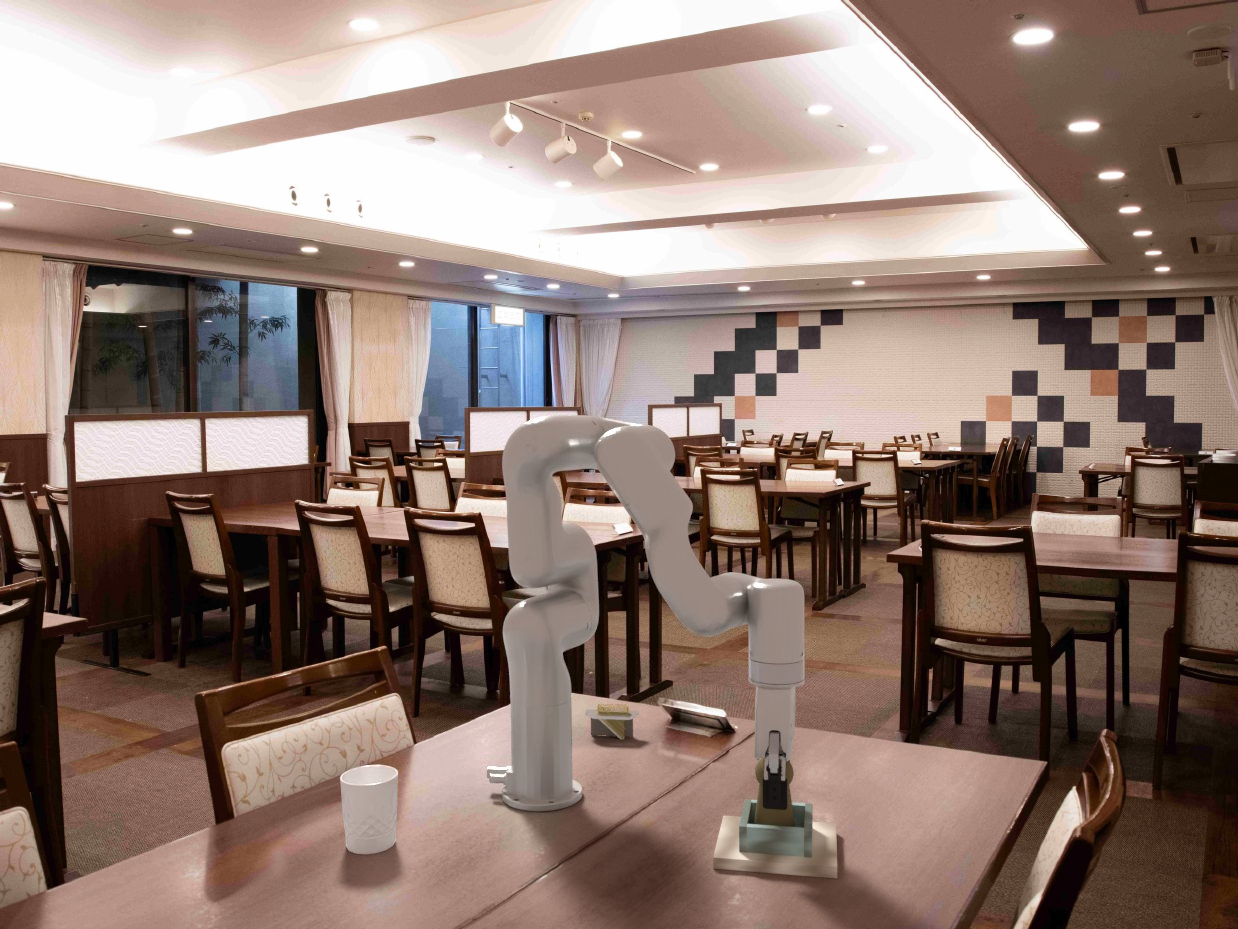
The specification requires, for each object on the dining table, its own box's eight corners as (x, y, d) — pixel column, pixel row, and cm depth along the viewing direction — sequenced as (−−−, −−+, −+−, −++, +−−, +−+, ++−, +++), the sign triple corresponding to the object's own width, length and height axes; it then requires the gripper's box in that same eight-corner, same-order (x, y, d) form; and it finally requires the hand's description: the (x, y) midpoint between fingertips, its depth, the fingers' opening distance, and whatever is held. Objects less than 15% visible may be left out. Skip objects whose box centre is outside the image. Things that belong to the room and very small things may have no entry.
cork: (796, 849, 134) (796, 768, 134) (750, 846, 136) (750, 765, 135) (797, 831, 140) (797, 753, 140) (753, 828, 142) (753, 751, 141)
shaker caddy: (713, 868, 132) (712, 831, 132) (723, 825, 146) (723, 791, 146) (837, 878, 129) (837, 840, 129) (836, 833, 143) (836, 799, 143)
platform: (656, 752, 179) (656, 716, 179) (557, 749, 181) (556, 713, 181) (662, 731, 191) (662, 697, 190) (569, 728, 193) (569, 694, 193)
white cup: (341, 860, 136) (340, 788, 136) (341, 836, 144) (340, 768, 143) (401, 853, 138) (399, 781, 138) (398, 830, 146) (396, 762, 145)
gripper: (753, 654, 146) (753, 770, 146) (743, 687, 129) (744, 818, 129) (805, 656, 144) (805, 774, 145) (803, 689, 127) (803, 822, 128)
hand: (776, 794), depth 137 cm, fingers open, 9 cm apart
